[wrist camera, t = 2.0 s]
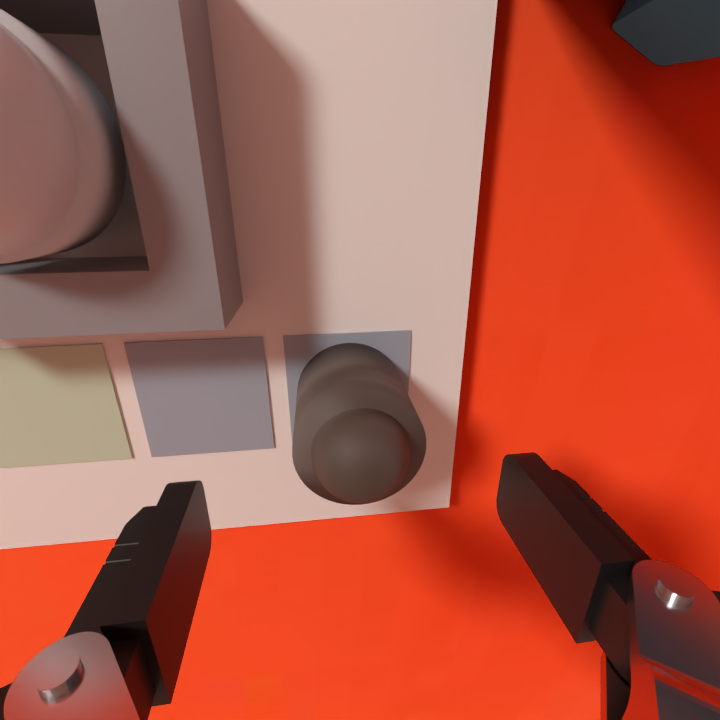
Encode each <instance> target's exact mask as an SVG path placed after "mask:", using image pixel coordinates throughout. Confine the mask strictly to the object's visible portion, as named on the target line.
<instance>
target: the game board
mask: <svg viewBox="0 0 720 720" xmlns="http://www.w3.org/2000/svg"><path fill="white" fill-rule="evenodd" d="M497 2H498V0H207V9H208V17H209V25H210V33H211V42H212V50H213V58H214V66H215V75H216V83H217V91H218V99H219V108H220V116H221V124H222V132H223V141H224V149H225V157H226V165H227V174H228V182H229V190H230V198H231V207H232V215H233V223H234V231H235V240H236V248H237V256H238V264H239V272H240V281H241V289H242V297H243V303H242V305H241V306H240V308H239V309H238V311H237V312H236V314H235V315H234V317H233V318H232V320H231V321H230V323H229V324H228V326H227V327H226V329H225V330H202V331H179V332H155V333H131V334H107V335H83V336H60V337H36V338H12V339H0V549H9V548H20V547H30V546H41V545H52V544H62V543H73V542H84V541H95V540H105V539H116V538H118V537H119V535H120V533H121V532H122V530H123V528H124V526H125V524H126V523H127V522H128V521H129V520H130V519H131V518H132V517H134V516H135V515H136V514H137V513H138V512H139V511H140V510H141V509H142V508H143V507H147V506H156V505H157V503H158V501H159V499H160V497H161V495H162V493H163V491H164V488H165V487H166V485H167V484H168V483H173V482H185V481H196V480H200V481H201V482H202V484H203V487H204V492H205V498H206V503H207V508H208V514H209V519H210V525H211V530H212V529H223V528H234V527H244V526H255V525H266V524H276V523H287V522H298V521H309V520H319V519H330V518H341V517H351V516H362V515H373V514H383V513H394V512H405V511H415V510H426V509H437V508H448V507H449V503H450V493H451V482H452V472H453V461H454V451H455V440H456V430H457V420H458V409H459V399H460V388H461V378H462V367H463V357H464V347H465V336H466V326H467V315H468V305H469V294H470V284H471V274H472V263H473V253H474V242H475V232H476V221H477V211H478V201H479V190H480V180H481V169H482V159H483V148H484V138H485V128H486V117H487V107H488V96H489V86H490V75H491V65H492V55H493V44H494V34H495V23H496V13H497ZM40 34H42V35H43V36H45V37H46V38H48V39H49V40H51V41H52V42H53V43H55V44H56V45H58V46H59V47H60V48H61V49H62V50H64V51H65V52H66V53H67V54H68V55H70V56H71V57H72V58H73V59H74V60H75V61H76V62H77V63H78V64H79V65H80V66H81V67H82V68H83V69H84V70H85V72H86V73H87V74H88V75H89V77H90V78H91V79H92V80H93V82H94V83H95V84H96V86H97V87H98V89H99V90H100V92H101V93H102V95H103V96H104V98H105V99H106V101H107V103H108V105H109V107H110V109H111V111H112V113H113V115H114V117H115V120H116V122H117V125H118V128H119V130H120V134H121V137H122V132H121V127H120V123H119V118H118V113H117V108H116V103H115V98H114V93H113V88H112V84H111V79H110V74H109V69H108V64H107V59H106V54H105V49H104V45H103V40H102V35H81V34H51V33H40ZM122 141H123V137H122ZM123 145H124V142H123ZM124 151H125V147H124ZM125 158H126V181H125V189H124V193H123V197H122V201H121V203H120V206H119V208H118V210H117V213H116V214H115V216H114V217H113V219H112V221H111V222H110V224H109V225H108V226H107V227H106V228H105V229H104V230H103V231H102V233H100V234H99V235H98V236H97V237H95V238H94V239H93V240H91V241H90V242H88V243H86V244H84V245H83V246H80V247H78V248H75V249H72V250H70V251H65V252H61V253H56V254H51V255H46V256H41V257H36V258H31V259H40V258H84V257H128V256H147V254H146V250H145V245H144V240H143V235H142V230H141V225H140V220H139V215H138V210H137V206H136V201H135V196H134V191H133V186H132V181H131V176H130V171H129V167H128V162H127V157H126V152H125ZM342 343H359V344H364V345H368V346H370V347H373V348H375V349H377V350H379V351H380V352H382V353H383V354H384V355H385V356H386V357H387V358H388V359H389V360H390V361H391V362H392V364H393V365H394V367H395V369H396V371H397V373H398V375H399V377H400V379H401V381H402V383H403V385H404V387H405V389H406V392H407V394H408V396H409V398H410V400H411V402H412V404H413V406H414V408H415V410H416V412H417V414H418V416H419V418H420V421H421V423H422V425H423V427H424V430H425V435H426V453H425V457H424V460H423V463H422V465H421V467H420V469H419V471H418V472H417V474H416V475H415V477H414V478H413V479H412V480H411V481H410V482H409V483H408V484H407V485H406V486H405V487H404V488H403V489H401V490H400V491H399V492H397V493H395V494H394V495H392V496H390V497H388V498H385V499H383V500H380V501H377V502H373V503H369V504H361V505H348V504H340V503H335V502H332V501H329V500H327V499H324V498H322V497H320V496H318V495H317V494H315V493H314V492H312V491H311V490H310V489H309V488H308V487H307V486H306V485H305V484H304V483H303V482H302V480H301V479H300V478H299V476H298V474H297V472H296V470H295V467H294V464H293V458H292V444H293V433H294V422H295V411H296V399H297V388H298V382H299V378H300V375H301V373H302V371H303V369H304V367H305V366H306V364H307V363H308V362H309V361H310V360H311V359H312V358H313V357H314V356H315V355H316V354H318V353H319V352H321V351H322V350H324V349H326V348H328V347H331V346H334V345H337V344H342Z"/></svg>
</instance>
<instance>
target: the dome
mask: <svg viewBox="0 0 720 720" xmlns="http://www.w3.org/2000/svg"><path fill="white" fill-rule="evenodd" d="M125 181H126V158H125V151H124V145H123V141H122V137H121V134H120V130H119V128H118V125H117V122H116V120H115V117H114V115H113V113H112V111H111V109H110V107H109V105H108V103H107V101H106V99H105V98H104V96H103V95H102V93H101V92H100V90H99V89H98V87H97V86H96V84H95V83H94V82H93V80H92V79H91V78H90V77H89V75H88V74H87V73H86V72H85V70H84V69H83V68H82V67H81V66H80V65H79V64H78V63H77V62H76V61H75V60H74V59H73V58H72V57H71V56H70V55H68V54H67V53H66V52H65V51H64V50H62V49H61V48H60V47H59V46H58V45H56V44H55V43H53V42H52V41H51V40H49V39H48V38H46V37H45V36H43V35H42V34H40V33H38V32H37V31H35V30H34V29H32V28H30V27H29V26H27V25H26V24H24V23H22V22H21V21H19V20H18V19H16V18H14V17H13V16H11V15H10V14H8V13H6V12H5V11H3V10H2V9H0V264H3V263H12V262H17V261H21V260H26V259H31V258H36V257H41V256H46V255H51V254H56V253H61V252H65V251H70V250H72V249H75V248H78V247H80V246H83V245H84V244H86V243H88V242H90V241H91V240H93V239H94V238H95V237H97V236H98V235H99V234H100V233H102V231H103V230H104V229H105V228H106V227H107V226H108V225H109V224H110V222H111V221H112V219H113V217H114V216H115V214H116V213H117V210H118V208H119V206H120V203H121V201H122V197H123V193H124V189H125Z"/></svg>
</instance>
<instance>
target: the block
mask: <svg viewBox="0 0 720 720" xmlns="http://www.w3.org/2000/svg"><path fill="white" fill-rule="evenodd" d="M612 29H613V30H614V31H615V32H616V33H617V34H618V35H620V36H621V37H622V38H623V39H624V40H626V41H627V42H628V43H629V44H630V45H632V46H633V47H634V48H635V49H637V50H638V51H639V52H640V53H641V54H643V55H644V56H645V57H646V58H647V59H649V60H650V61H651V62H653V63H654V64H656V65H660V66H667V65H673V64H679V63H685V62H691V61H697V60H703V59H710V58H716V57H720V0H626V2H625V4H624V5H623V7H622V9H621V10H620V12H619V14H618V16H617V17H616V19H615V21H614V23H613V24H612Z"/></svg>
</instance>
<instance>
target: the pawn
mask: <svg viewBox="0 0 720 720" xmlns="http://www.w3.org/2000/svg"><path fill="white" fill-rule="evenodd" d="M425 453H426V435H425V430H424V427H423V425H422V423H421V421H420V418H419V416H418V414H417V412H416V410H415V408H414V406H413V404H412V402H411V400H410V398H409V396H408V394H407V392H406V389H405V387H404V385H403V383H402V381H401V379H400V377H399V375H398V373H397V371H396V369H395V367H394V365H393V364H392V362H391V361H390V360H389V359H388V358H387V357H386V356H385V355H384V354H383V353H382V352H380V351H379V350H377V349H375V348H373V347H370V346H368V345H364V344H359V343H342V344H337V345H334V346H331V347H328V348H326V349H324V350H322V351H321V352H319V353H318V354H316V355H315V356H314V357H313V358H312V359H311V360H310V361H309V362H308V363H307V364H306V366H305V367H304V369H303V371H302V373H301V375H300V378H299V382H298V388H297V399H296V411H295V422H294V433H293V444H292V458H293V464H294V467H295V470H296V472H297V474H298V476H299V478H300V479H301V480H302V482H303V483H304V484H305V485H306V486H307V487H308V488H309V489H310V490H311V491H312V492H314V493H315V494H317V495H318V496H320V497H322V498H324V499H327V500H329V501H332V502H335V503H340V504H348V505H361V504H369V503H373V502H377V501H380V500H383V499H385V498H388V497H390V496H392V495H394V494H395V493H397V492H399V491H400V490H401V489H403V488H404V487H405V486H406V485H407V484H408V483H409V482H410V481H411V480H412V479H413V478H414V477H415V475H416V474H417V472H418V471H419V469H420V467H421V465H422V463H423V460H424V457H425Z"/></svg>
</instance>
